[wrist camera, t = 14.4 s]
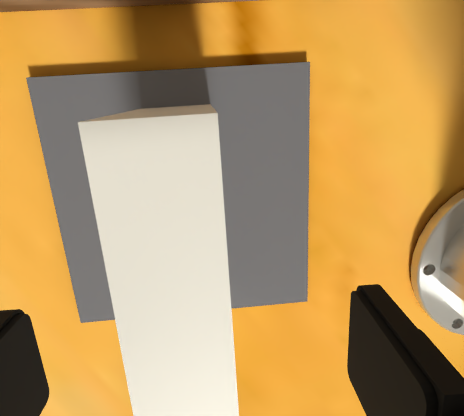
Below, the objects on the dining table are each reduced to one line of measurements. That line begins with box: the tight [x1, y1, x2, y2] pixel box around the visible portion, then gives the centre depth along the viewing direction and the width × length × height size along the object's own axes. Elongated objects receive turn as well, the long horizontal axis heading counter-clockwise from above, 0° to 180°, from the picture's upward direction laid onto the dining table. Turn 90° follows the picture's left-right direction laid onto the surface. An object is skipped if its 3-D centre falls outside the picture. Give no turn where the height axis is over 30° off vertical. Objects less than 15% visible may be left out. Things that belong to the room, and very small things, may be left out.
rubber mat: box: [26, 62, 310, 323], centre depth 23 cm, size 16×16×1 cm
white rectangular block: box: [78, 104, 239, 416], centre depth 17 cm, size 4×12×11 cm, turn 3°
